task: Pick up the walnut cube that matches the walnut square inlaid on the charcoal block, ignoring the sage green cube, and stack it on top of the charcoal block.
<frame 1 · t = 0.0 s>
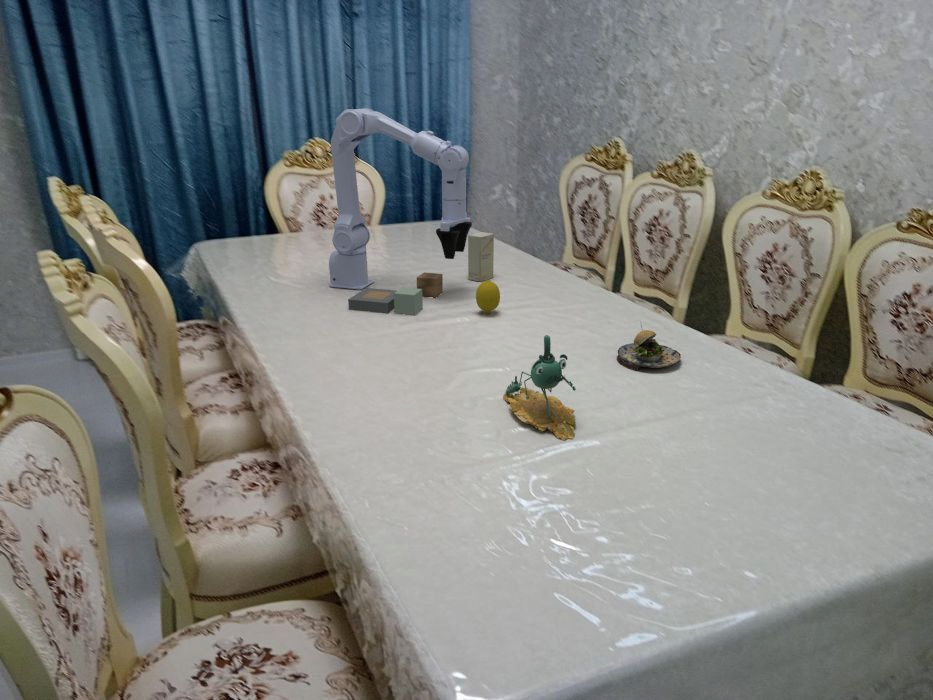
hand: (454, 254, 163), 10 cm above the table, fingers open, 7 cm apart
skincare box: (480, 279, 180), on the table
burger: (647, 362, 127), on the table
sage cube: (408, 311, 154), on the table
walnut cube: (430, 294, 167), on the table
lemon: (487, 314, 153), on the table
charcoal block: (377, 307, 159), on the table
green creature figurine: (541, 416, 106), on the table
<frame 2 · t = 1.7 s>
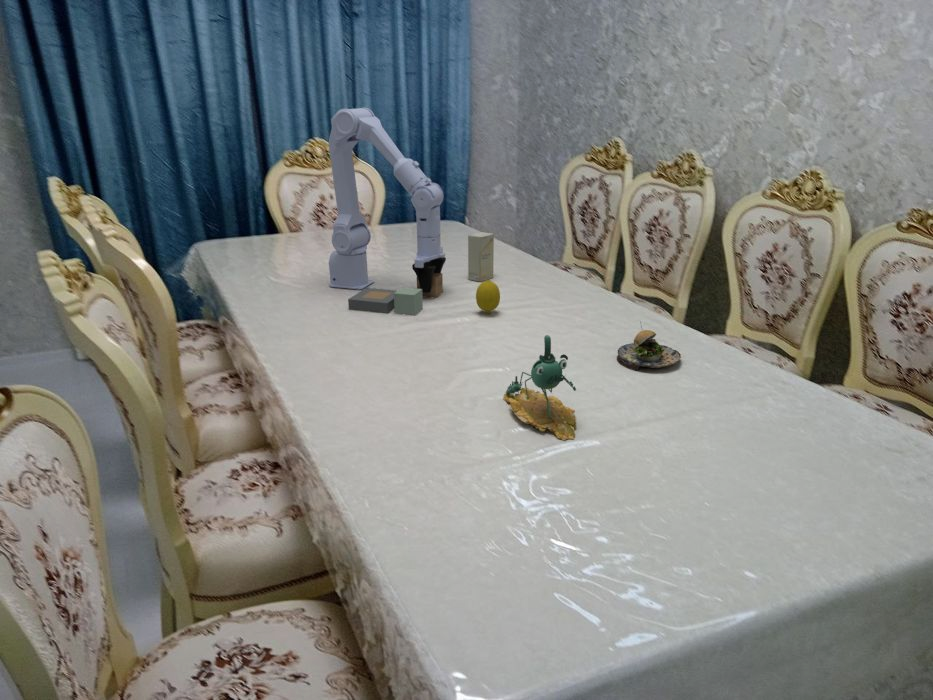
hand: (429, 289, 166), 1 cm above the table, fingers closed on walnut cube, 5 cm apart
walnut cube: (430, 294, 167), on the table, touching gripper
everything else where it was.
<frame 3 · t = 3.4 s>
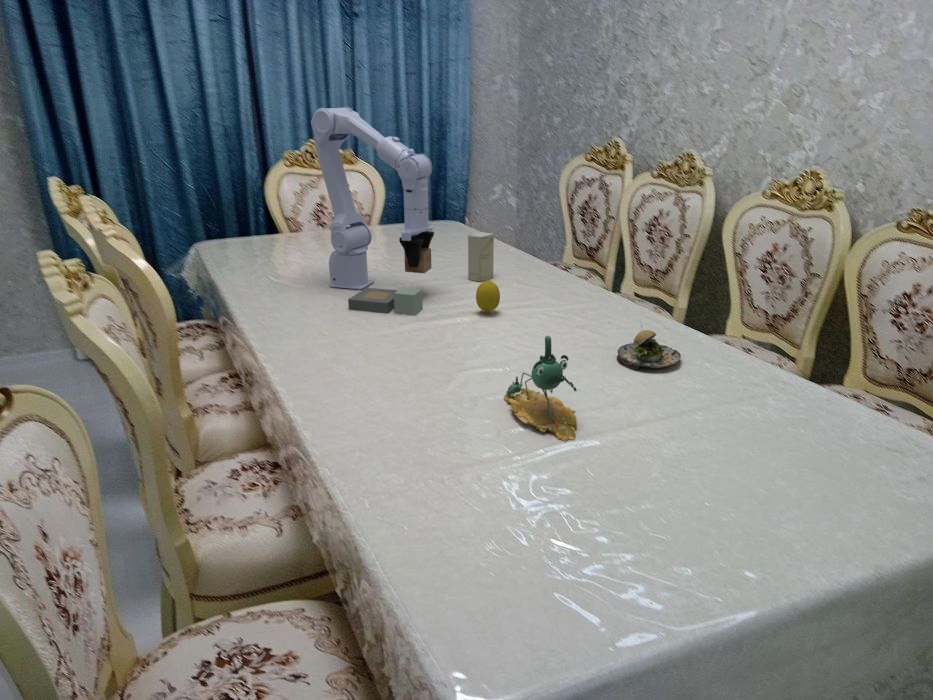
hand: (417, 263, 162), 8 cm above the table, fingers closed on walnut cube, 5 cm apart
walnut cube: (418, 270, 162), point 7 cm above the table, touching gripper
everything else where it was.
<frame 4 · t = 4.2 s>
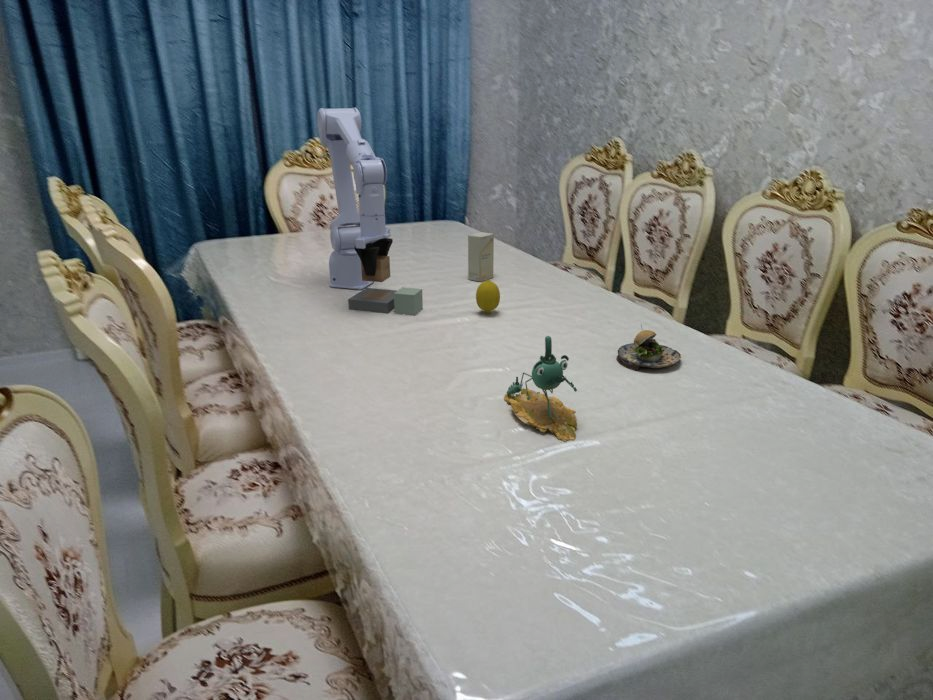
hand: (375, 272, 156), 8 cm above the table, fingers closed on walnut cube, 5 cm apart
walnut cube: (376, 278, 156), point 7 cm above the table, touching gripper
everything else where it was.
when the fingers open (6 cm above the table, at t = 5.0 s): walnut cube drops 2 cm, point 2 cm above the table.
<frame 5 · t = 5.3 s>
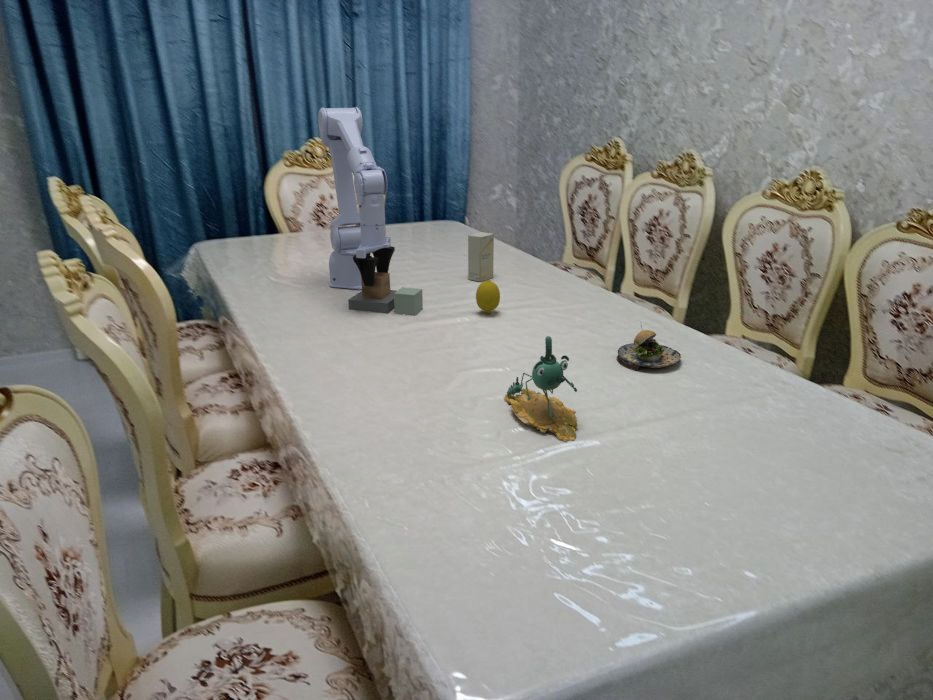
hand: (375, 281, 156), 6 cm above the table, fingers open, 7 cm apart
walnut cube: (376, 295, 158), point 2 cm above the table
everything else where it was.
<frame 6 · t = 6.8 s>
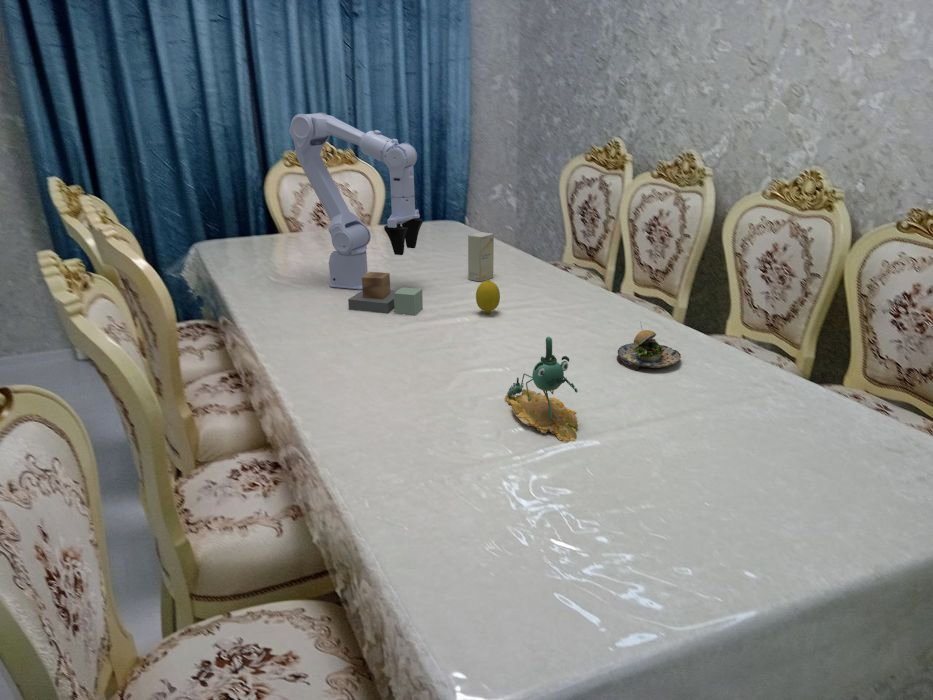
hand: (405, 251, 165), 10 cm above the table, fingers open, 7 cm apart
walnut cube: (376, 295, 158), point 2 cm above the table, touching charcoal block
charcoal block: (377, 307, 159), on the table, touching walnut cube
everything else where it was.
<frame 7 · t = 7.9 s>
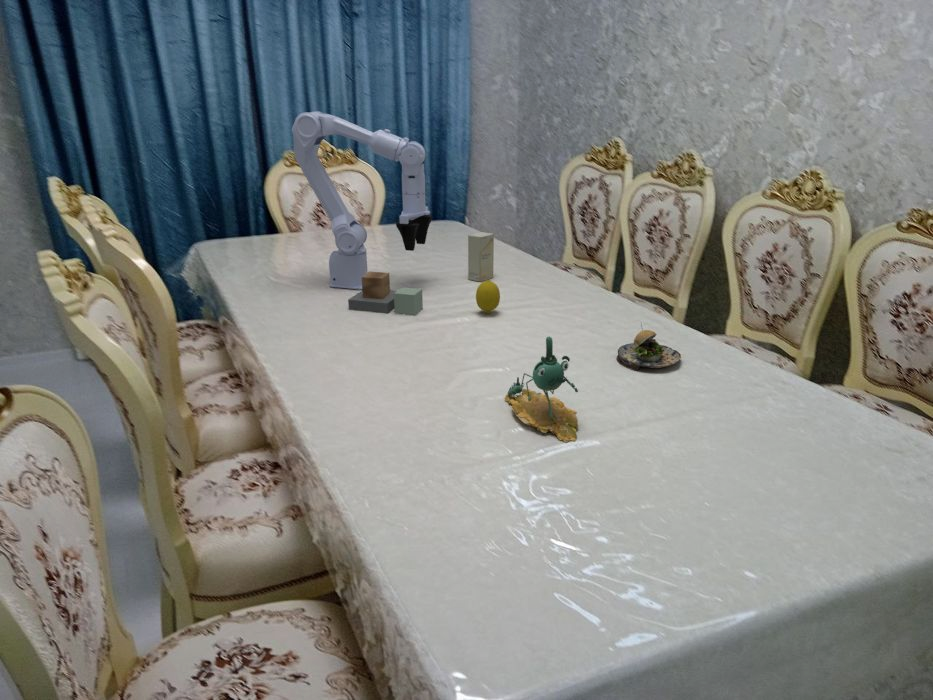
hand: (415, 246, 170), 10 cm above the table, fingers open, 7 cm apart
nothing on the table moved.
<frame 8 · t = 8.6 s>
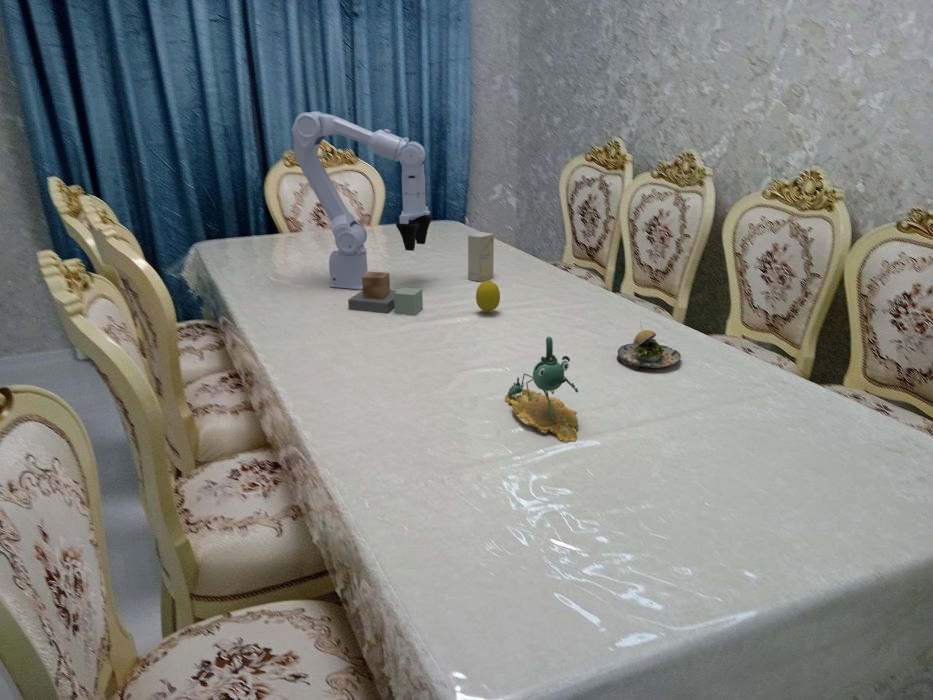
hand: (415, 246, 170), 10 cm above the table, fingers open, 7 cm apart
walnut cube: (376, 295, 158), point 2 cm above the table
charcoal block: (377, 307, 159), on the table
everything else where it was.
at the end: walnut cube 0.1 cm off-centre on the charcoal block, point 3.1 cm above the charcoal block's base; walnut cube tilted 0°; the gripper is holding nothing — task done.
